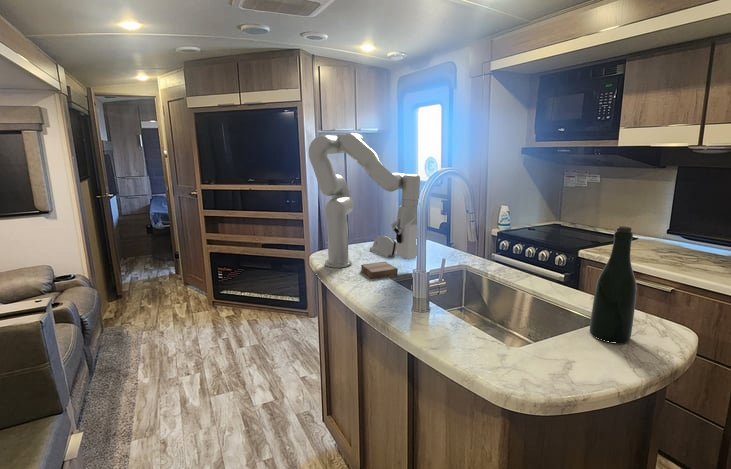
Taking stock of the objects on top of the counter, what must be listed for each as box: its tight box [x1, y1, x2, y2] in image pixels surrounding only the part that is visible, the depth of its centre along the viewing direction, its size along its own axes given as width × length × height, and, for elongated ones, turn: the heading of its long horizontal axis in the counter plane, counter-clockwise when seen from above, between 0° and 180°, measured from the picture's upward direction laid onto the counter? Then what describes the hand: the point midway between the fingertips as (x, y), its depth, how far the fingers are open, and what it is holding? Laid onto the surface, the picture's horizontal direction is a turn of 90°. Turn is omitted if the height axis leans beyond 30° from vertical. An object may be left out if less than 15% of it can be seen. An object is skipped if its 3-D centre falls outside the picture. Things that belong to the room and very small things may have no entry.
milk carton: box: [395, 215, 417, 260], centre depth 178 cm, size 7×7×19 cm
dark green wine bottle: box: [588, 226, 638, 344], centre depth 115 cm, size 10×10×33 cm
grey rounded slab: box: [369, 235, 397, 258], centre depth 209 cm, size 17×5×10 cm, turn 33°
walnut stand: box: [360, 261, 399, 280], centre depth 177 cm, size 12×12×3 cm
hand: (408, 241), depth 178 cm, fingers closed on milk carton, 8 cm apart
